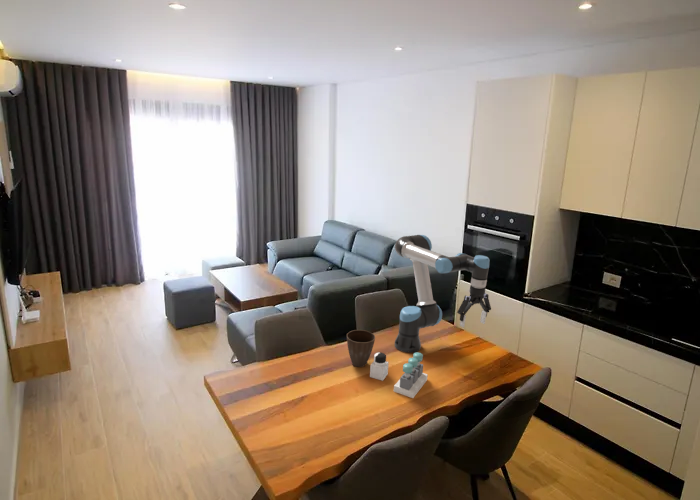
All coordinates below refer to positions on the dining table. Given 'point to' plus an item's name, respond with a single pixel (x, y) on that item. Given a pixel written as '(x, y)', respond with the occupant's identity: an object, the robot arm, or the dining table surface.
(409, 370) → the knob
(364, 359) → the plant pot
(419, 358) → the knob
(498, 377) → the dining table surface
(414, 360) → the knob
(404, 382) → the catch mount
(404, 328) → the robot arm
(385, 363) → the medicine bottle
